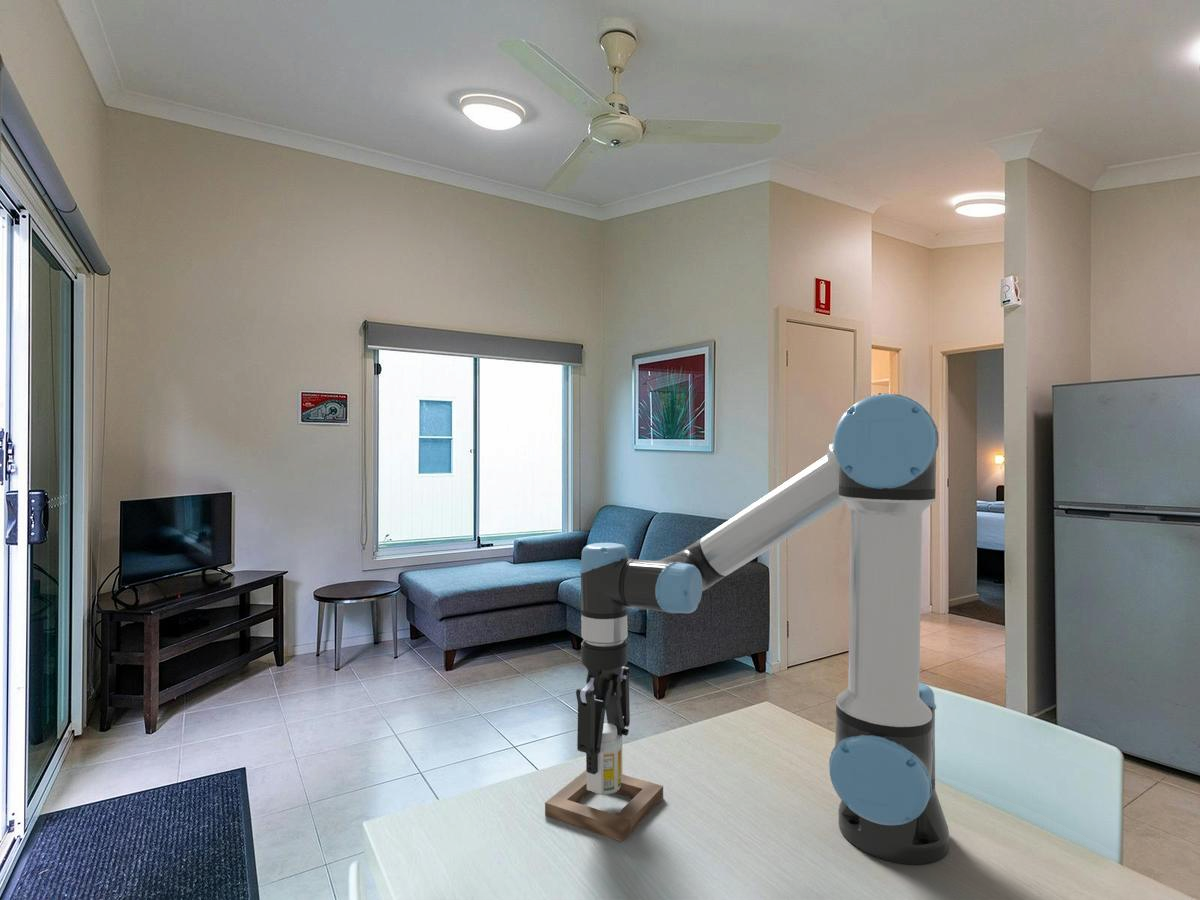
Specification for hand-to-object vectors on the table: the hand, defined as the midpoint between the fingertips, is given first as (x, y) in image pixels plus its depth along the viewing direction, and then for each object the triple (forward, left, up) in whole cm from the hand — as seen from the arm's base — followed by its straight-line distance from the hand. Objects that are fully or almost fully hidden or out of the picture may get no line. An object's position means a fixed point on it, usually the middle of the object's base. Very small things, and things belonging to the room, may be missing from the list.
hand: (604, 782), depth 107 cm
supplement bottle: (0, 0, -1) cm, 1 cm away
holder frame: (0, 0, -4) cm, 4 cm away
